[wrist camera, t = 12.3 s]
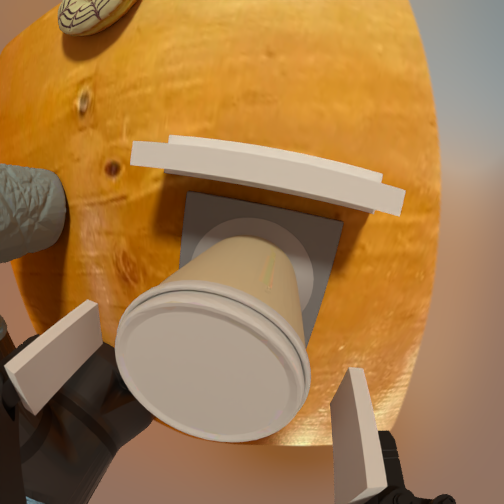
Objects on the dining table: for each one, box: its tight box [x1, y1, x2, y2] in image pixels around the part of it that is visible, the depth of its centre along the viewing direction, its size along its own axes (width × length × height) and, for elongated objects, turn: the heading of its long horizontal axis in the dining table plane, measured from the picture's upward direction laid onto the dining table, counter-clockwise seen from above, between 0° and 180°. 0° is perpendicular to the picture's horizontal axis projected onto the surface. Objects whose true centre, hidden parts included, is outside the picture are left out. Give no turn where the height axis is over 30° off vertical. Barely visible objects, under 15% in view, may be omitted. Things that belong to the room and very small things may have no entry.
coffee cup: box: [115, 235, 311, 442], centre depth 17 cm, size 9×9×12 cm
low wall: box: [130, 135, 406, 217], centre depth 17 cm, size 3×16×6 cm, turn 80°
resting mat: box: [179, 191, 343, 348], centre depth 23 cm, size 12×12×1 cm
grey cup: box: [0, 164, 66, 263], centre depth 18 cm, size 10×10×12 cm
